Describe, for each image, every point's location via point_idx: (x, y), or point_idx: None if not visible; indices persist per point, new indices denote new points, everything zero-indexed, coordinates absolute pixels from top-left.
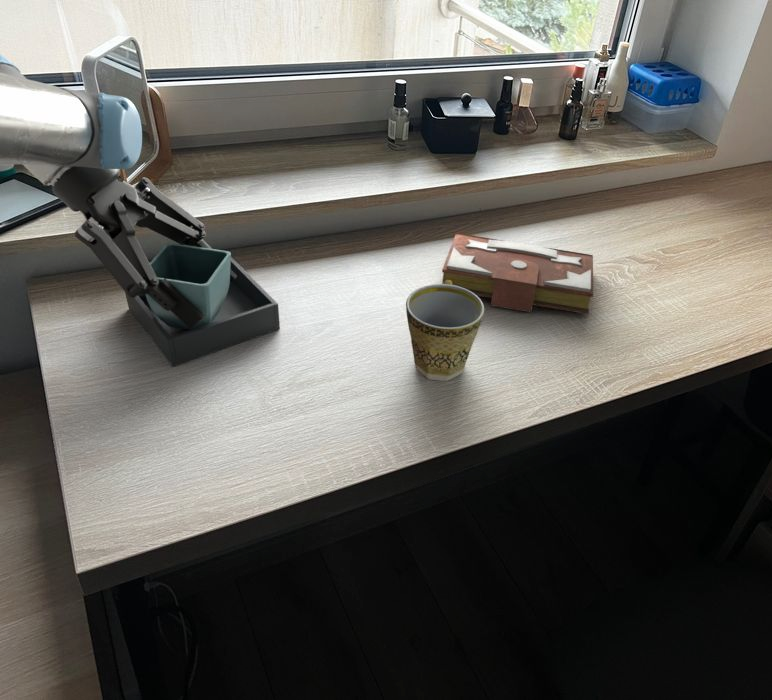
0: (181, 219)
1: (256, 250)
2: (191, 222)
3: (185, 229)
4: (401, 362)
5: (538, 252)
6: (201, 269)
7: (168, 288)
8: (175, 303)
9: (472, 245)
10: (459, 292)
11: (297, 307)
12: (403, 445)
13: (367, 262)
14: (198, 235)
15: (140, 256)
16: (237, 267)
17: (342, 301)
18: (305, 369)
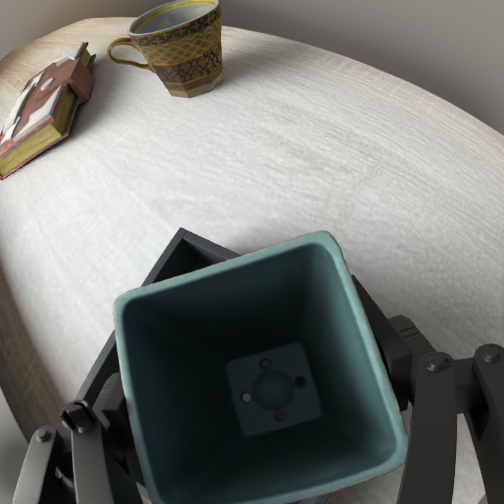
0: (54, 496)
1: (24, 415)
2: (48, 460)
3: (91, 463)
4: (205, 103)
5: (26, 94)
6: (174, 402)
7: (399, 336)
8: (392, 319)
9: (9, 135)
10: (134, 28)
11: (132, 267)
12: (325, 61)
13: (17, 245)
14: (85, 424)
15: (436, 455)
16: (93, 378)
17: (100, 219)
18: (275, 169)
